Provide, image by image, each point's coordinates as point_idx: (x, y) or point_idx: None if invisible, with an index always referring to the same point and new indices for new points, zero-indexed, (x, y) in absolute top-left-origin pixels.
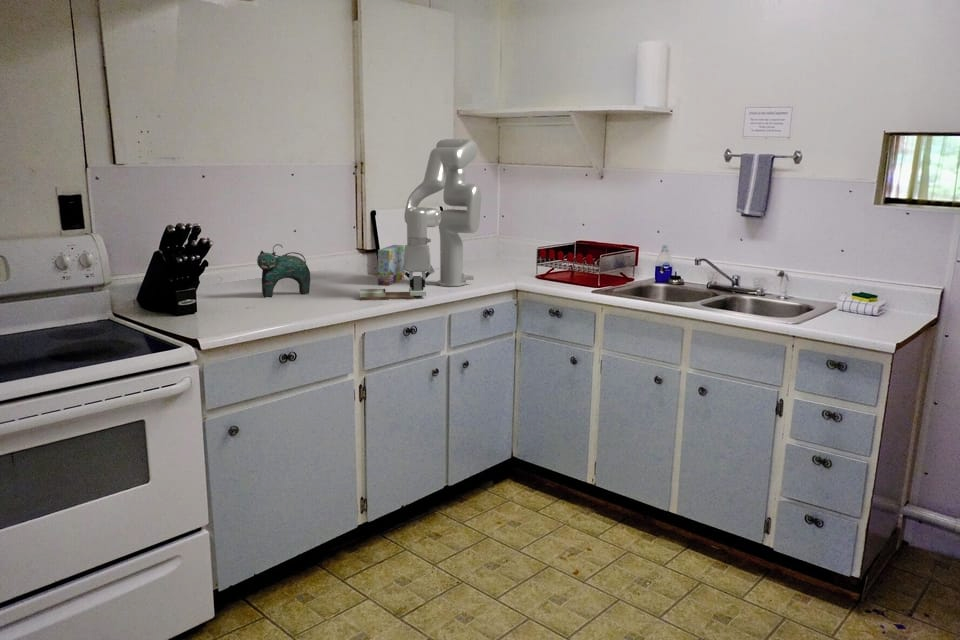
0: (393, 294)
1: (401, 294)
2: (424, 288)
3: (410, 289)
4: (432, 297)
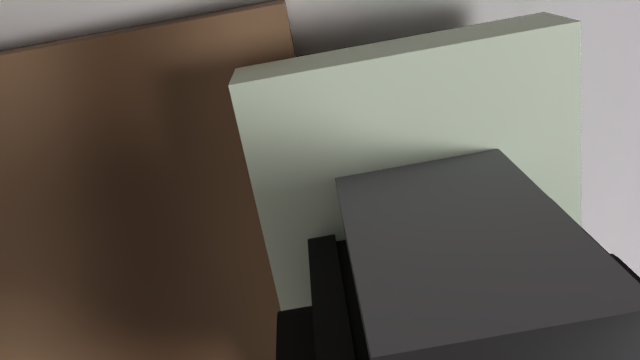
0: (11, 314)
1: (146, 300)
2: (576, 133)
3: (291, 270)
4: (635, 255)
